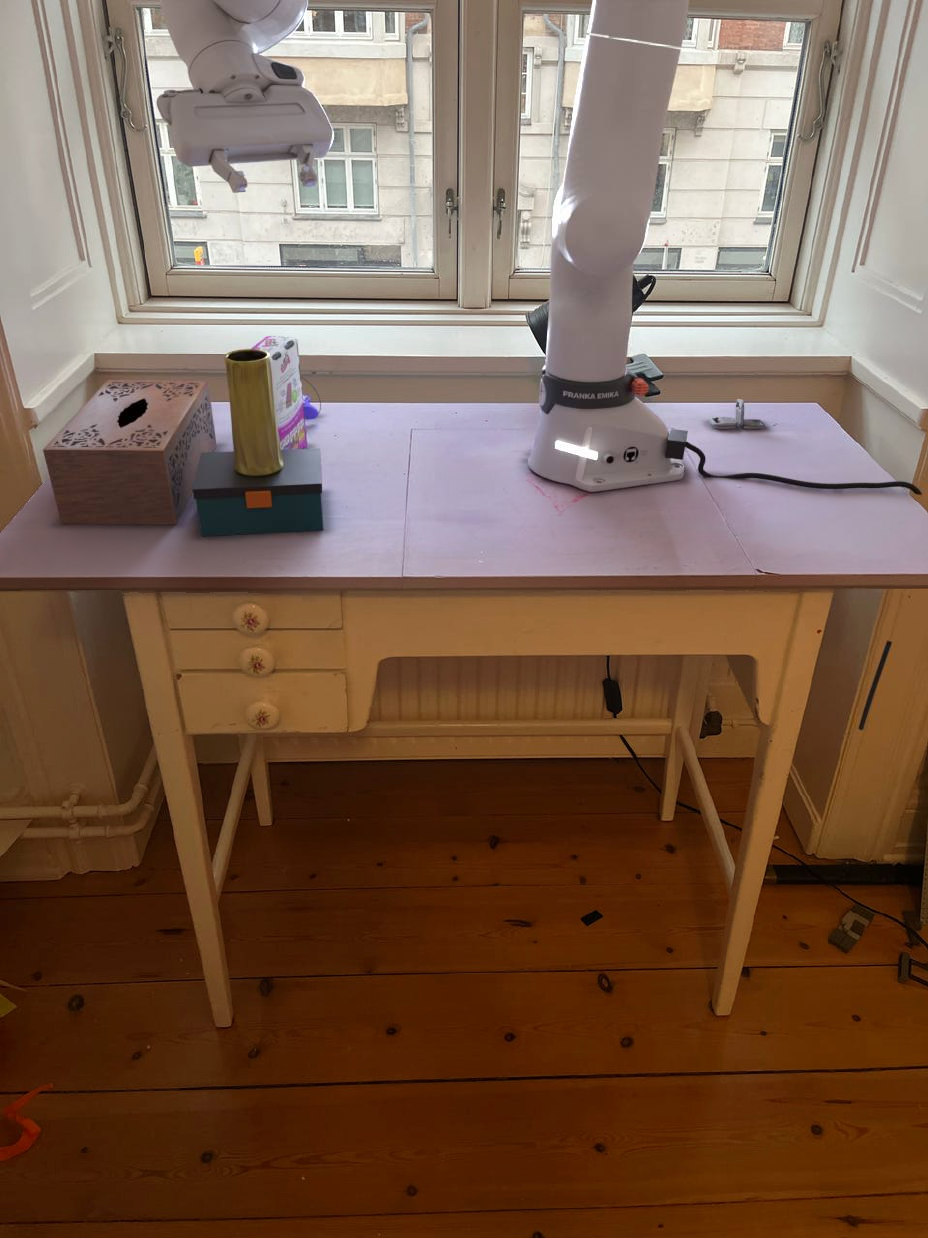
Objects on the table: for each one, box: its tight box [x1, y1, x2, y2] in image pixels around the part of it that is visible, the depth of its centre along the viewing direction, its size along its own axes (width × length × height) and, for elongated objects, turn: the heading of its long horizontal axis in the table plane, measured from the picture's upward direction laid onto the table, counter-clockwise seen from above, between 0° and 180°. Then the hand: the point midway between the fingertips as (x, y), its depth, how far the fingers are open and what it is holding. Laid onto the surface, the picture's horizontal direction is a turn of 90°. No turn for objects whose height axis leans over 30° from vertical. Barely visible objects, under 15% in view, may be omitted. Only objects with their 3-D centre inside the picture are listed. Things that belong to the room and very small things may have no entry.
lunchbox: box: [192, 447, 324, 537], centre depth 119 cm, size 15×12×6 cm
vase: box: [224, 348, 283, 477], centre depth 113 cm, size 6×6×14 cm
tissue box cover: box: [42, 379, 218, 525], centre depth 125 cm, size 26×14×10 cm, turn 1°
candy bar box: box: [250, 335, 308, 450], centre depth 131 cm, size 11×5×16 cm, turn 168°
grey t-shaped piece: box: [709, 398, 766, 430], centre depth 149 cm, size 8×3×4 cm, turn 94°
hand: (276, 186), depth 113 cm, fingers open, 8 cm apart
